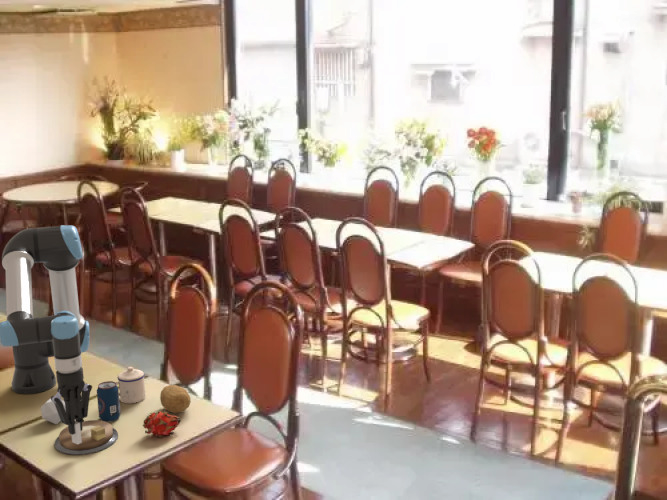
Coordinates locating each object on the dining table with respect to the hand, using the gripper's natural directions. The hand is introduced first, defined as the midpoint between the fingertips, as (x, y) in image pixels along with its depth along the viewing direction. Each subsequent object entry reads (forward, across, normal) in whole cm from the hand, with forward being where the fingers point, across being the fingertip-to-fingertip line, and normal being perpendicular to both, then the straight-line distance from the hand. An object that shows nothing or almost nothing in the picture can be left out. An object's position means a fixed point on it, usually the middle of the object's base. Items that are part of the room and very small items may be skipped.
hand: (77, 442), depth 243 cm
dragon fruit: (+5, +24, -10) cm, 27 cm away
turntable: (+4, +8, +6) cm, 11 cm away
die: (+5, +10, +26) cm, 29 cm away
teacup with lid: (+5, +34, +20) cm, 40 cm away
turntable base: (+4, +8, +6) cm, 11 cm away
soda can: (+5, +22, +14) cm, 26 cm away
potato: (+5, +38, 0) cm, 39 cm away
